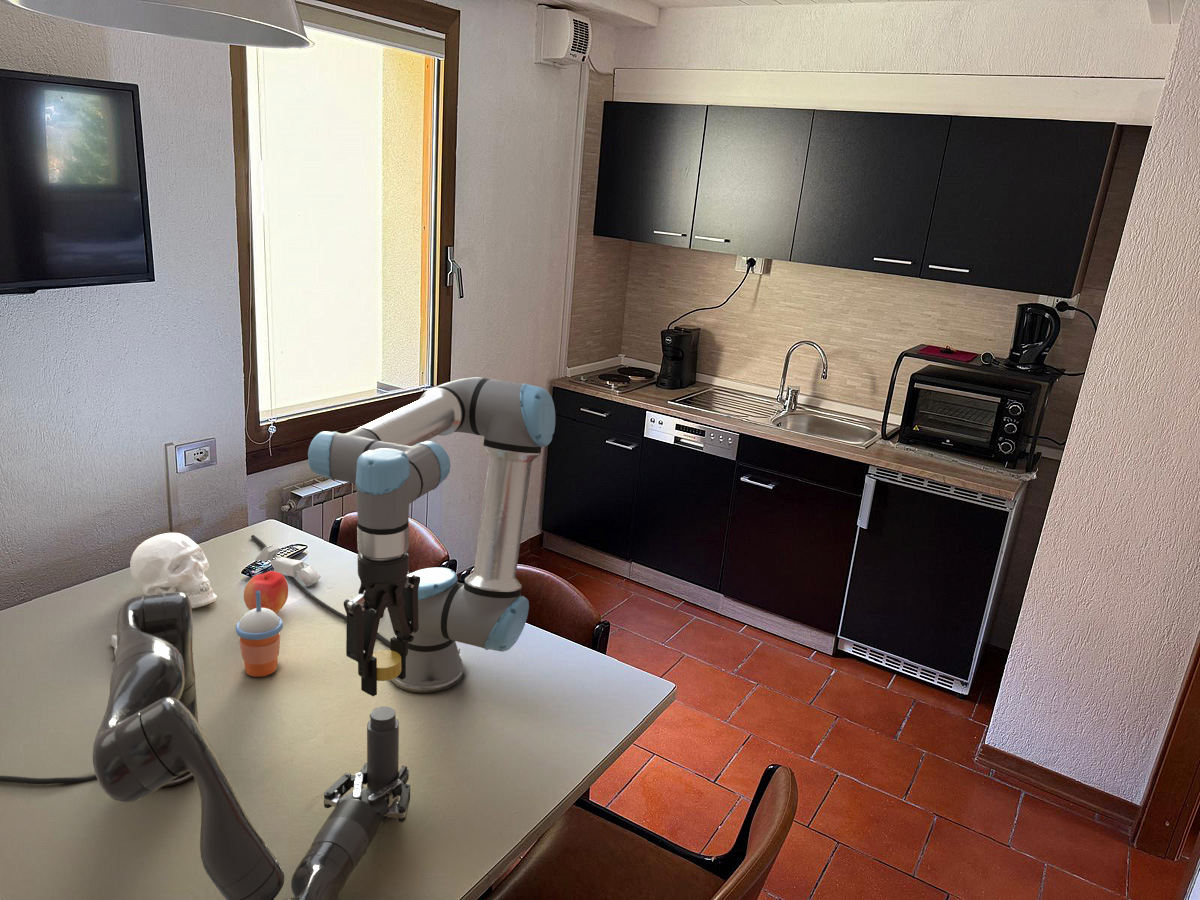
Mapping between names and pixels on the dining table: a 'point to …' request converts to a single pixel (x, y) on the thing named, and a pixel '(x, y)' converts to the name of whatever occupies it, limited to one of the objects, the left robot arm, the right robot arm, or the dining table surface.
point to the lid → (387, 664)
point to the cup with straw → (259, 639)
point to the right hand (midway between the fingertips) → (383, 683)
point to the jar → (382, 748)
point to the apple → (267, 591)
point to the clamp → (288, 565)
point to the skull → (172, 568)
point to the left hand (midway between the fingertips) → (388, 767)
